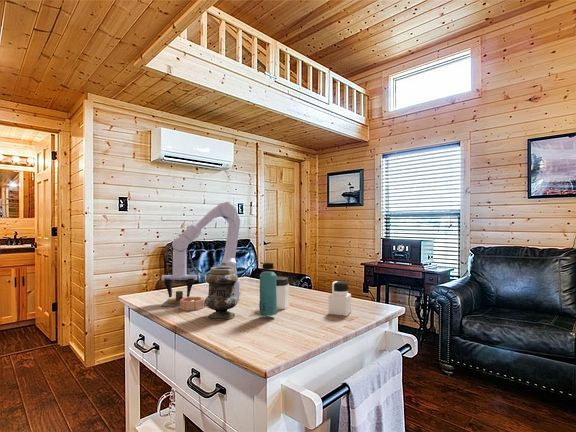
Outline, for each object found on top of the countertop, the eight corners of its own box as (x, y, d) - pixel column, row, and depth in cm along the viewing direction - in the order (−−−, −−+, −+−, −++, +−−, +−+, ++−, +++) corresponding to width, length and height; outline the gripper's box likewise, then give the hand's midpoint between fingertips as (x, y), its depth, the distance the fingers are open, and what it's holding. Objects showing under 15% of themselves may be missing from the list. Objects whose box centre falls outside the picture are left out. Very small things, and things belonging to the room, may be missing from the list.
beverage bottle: (279, 316, 122) (279, 262, 123) (272, 321, 116) (273, 264, 117) (263, 314, 125) (263, 261, 125) (256, 319, 118) (256, 263, 119)
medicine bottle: (351, 311, 129) (351, 280, 129) (346, 316, 123) (346, 283, 123) (333, 309, 132) (333, 279, 132) (328, 314, 126) (328, 282, 126)
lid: (192, 298, 147) (192, 289, 148) (189, 304, 138) (189, 293, 138) (169, 299, 146) (169, 289, 146) (165, 304, 136) (165, 294, 137)
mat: (195, 299, 149) (195, 298, 149) (190, 306, 137) (190, 304, 137) (168, 300, 147) (168, 298, 148) (161, 306, 136) (161, 305, 136)
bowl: (205, 304, 139) (205, 296, 139) (202, 310, 130) (202, 301, 130) (182, 305, 138) (182, 296, 138) (177, 311, 129) (178, 302, 129)
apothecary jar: (244, 315, 124) (244, 266, 124) (223, 323, 113) (223, 270, 114) (219, 310, 130) (220, 264, 130) (197, 318, 119) (197, 268, 120)
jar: (293, 307, 135) (293, 278, 135) (277, 310, 130) (277, 280, 130) (279, 303, 142) (279, 275, 142) (264, 306, 137) (264, 277, 137)
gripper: (159, 266, 138) (159, 299, 137) (195, 266, 139) (194, 298, 139) (164, 264, 145) (163, 295, 144) (198, 264, 146) (197, 294, 146)
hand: (179, 296), depth 142 cm, fingers open, 7 cm apart
